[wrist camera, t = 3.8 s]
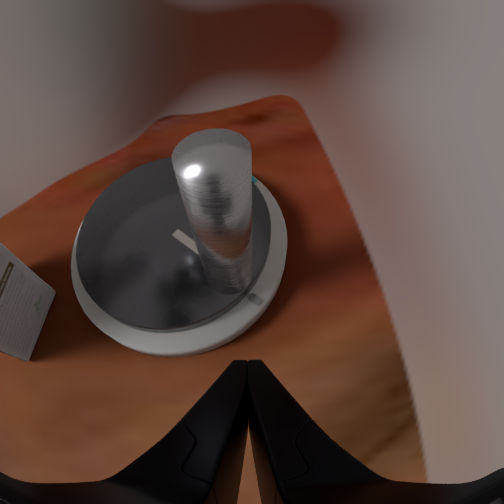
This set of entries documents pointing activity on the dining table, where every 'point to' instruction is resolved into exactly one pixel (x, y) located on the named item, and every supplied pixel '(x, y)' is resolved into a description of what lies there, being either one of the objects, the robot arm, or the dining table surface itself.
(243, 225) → the dial
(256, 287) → the base
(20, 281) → the syrup box
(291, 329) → the dining table surface
